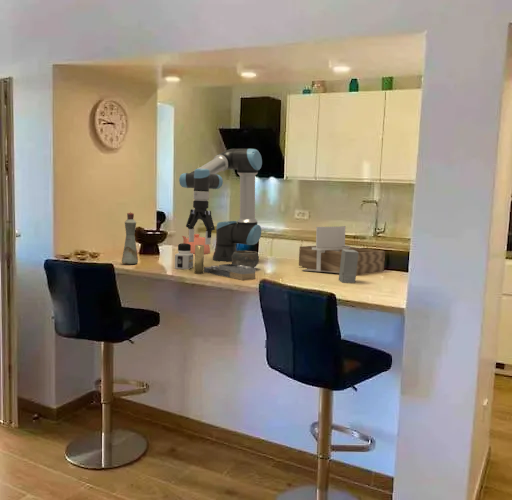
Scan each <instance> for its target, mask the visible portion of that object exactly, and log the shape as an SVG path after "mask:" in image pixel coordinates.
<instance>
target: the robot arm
mask: <svg viewBox="0 0 512 500" xmlns="http://www.w3.org/2000/svg"><path fill="white" fill-rule="evenodd" d="M262 165H263V159H262V155H261V153H260V152H259V150H258V149H256V148H230V149H226V150H225V151H222V152H220V153H218V154H217V155H214V157H213V159H211V160H210V161H208V162H206V163H205V164H203V165H201V166H200V167H198V168H195V169H194V170H192V171H191V172H189V173H188V172H184V173H181V174H180V176H179V178H178V182H179V186H181V188H186V189H193V201H192V202H193V203H192V204H193V205H192V208H193V209H189V216H188V219H187V221H186V225H185V227H186V228H187V229H188V237H189V242H194V237H195V236H194V234H195V227H196V225H197V223H198V221H199V220H201V221H202V223H203V225H204V227H205V229H206V230H205V244H206V245H207V244H209V245H211V244H212V243H211V242H212V241H211V239H212V231H216V235H215V249H214V252H213V255H212V261H215V262H220V261H226V262H225V263H232V257H231V256H232V255H233V253H234V252H235V251H238V250H237V244H238V245H248V246H255V245H256V244H258V243H259V242H260V239H261V237H262V227H261V225H260V224H258V220H257V219H256V175H258V173H259V171H260V169H261V168H262ZM226 170H236V171H237V172H236V173H237V174H238V175H239V218H238V219H237V220H231V221H230V220H229V221H228V220H227V221H219V222H217V224H216V230H215V224H214V221H213V217H212V210H208V209H209V201H208V200H209V199H210V190H219V189H220V188H221V187H222V186H223V183H224V181H223V177H222V176H221V175H219V174H218V173H220V172H225V171H226Z"/></svg>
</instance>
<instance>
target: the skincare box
mask: <svg viewBox="0 0 512 500" xmlns="http://www.w3.org/2000/svg"><path fill="white" fill-rule="evenodd" d="M357 262H358V252H357V251H355V250H349V249H342V254H341V263H340V272H339V274H338V281H339V282H341V283H343V284H355V283H356V277H357V275H356V270H357Z"/></svg>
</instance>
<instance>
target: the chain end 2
mask: <svg viewBox="0 0 512 500" xmlns="http://www.w3.org/2000/svg"><path fill="white" fill-rule="evenodd" d="M218 267H219V270H223V271H228V272H230V279H234V280H239V281H245V280H247V281H248V280H255V279H256V267H255V268H252V267H250V266H245V265H236V264H232V263H225V264H219V265H218Z"/></svg>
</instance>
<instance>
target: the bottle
mask: <svg viewBox="0 0 512 500" xmlns="http://www.w3.org/2000/svg"><path fill="white" fill-rule="evenodd" d="M126 214H127V215H126V217H127V219H126V220H125V221H124V228H125V240H124V246H123V253H122V257H121V263H122V264H127V265H136V264H138V262H139V257H138V250H137V244H136V243H137V242H136V236H135V233H136V227H137V222H136V220H135V218H134V214H135V213H133V212H131V211H130V212H127V213H126Z"/></svg>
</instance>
